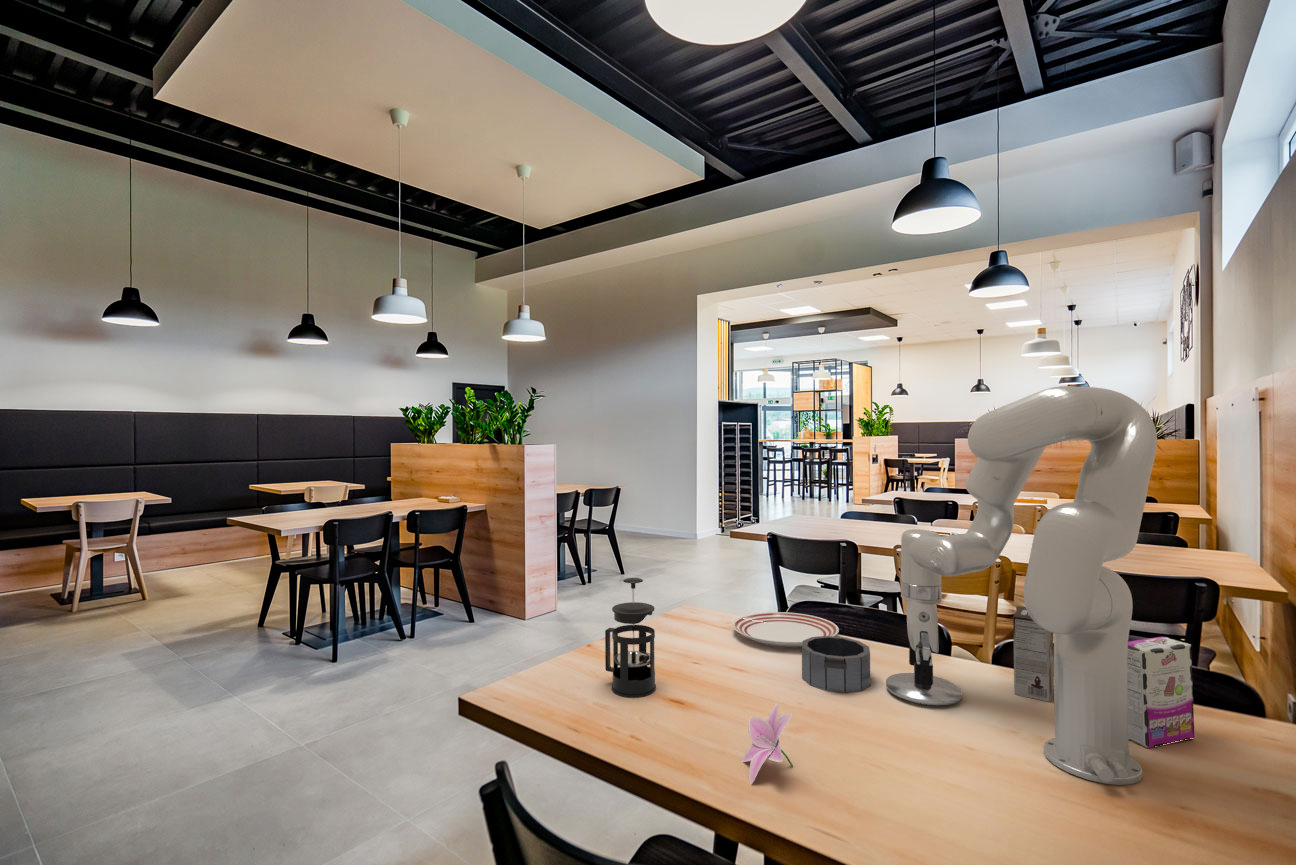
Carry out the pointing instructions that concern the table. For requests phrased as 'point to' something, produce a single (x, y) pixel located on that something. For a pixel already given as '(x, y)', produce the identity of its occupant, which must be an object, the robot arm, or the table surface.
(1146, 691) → the candy bar box
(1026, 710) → the table surface
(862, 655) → the pot
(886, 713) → the table surface
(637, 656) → the french press
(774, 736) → the lily
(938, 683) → the lid
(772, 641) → the dinner plate
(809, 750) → the table surface
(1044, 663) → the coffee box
